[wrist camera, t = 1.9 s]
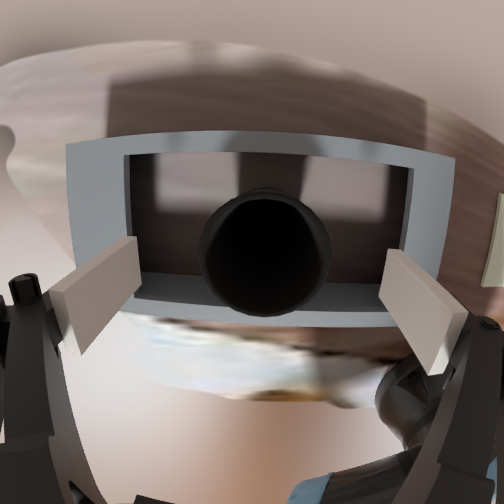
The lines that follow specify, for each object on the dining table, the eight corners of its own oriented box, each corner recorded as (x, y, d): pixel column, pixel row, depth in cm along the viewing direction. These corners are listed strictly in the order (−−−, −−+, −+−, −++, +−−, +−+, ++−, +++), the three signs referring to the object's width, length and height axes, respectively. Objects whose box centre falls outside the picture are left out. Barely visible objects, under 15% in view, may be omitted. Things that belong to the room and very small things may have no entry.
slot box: (397, 292, 30) (423, 325, 23) (115, 277, 31) (83, 305, 25) (417, 155, 25) (455, 158, 18) (105, 143, 26) (66, 144, 20)
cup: (270, 269, 30) (268, 339, 18) (211, 220, 28) (172, 264, 17) (323, 214, 28) (358, 254, 16) (263, 160, 26) (258, 162, 15)
